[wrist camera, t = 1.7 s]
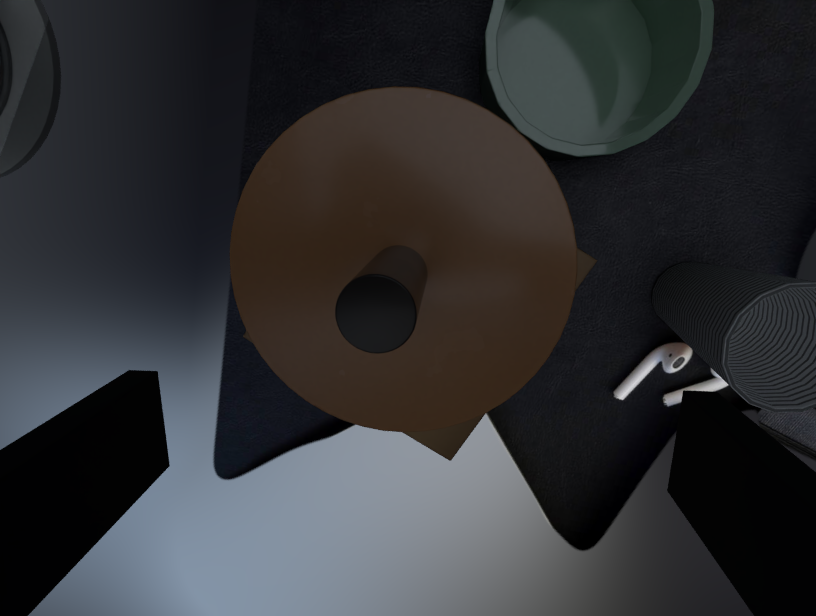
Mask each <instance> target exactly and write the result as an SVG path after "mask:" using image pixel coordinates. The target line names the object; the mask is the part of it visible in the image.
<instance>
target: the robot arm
mask: <svg viewBox="0 0 816 616" xmlns="http://www.w3.org/2000/svg"><path fill="white" fill-rule="evenodd" d="M11 86H12V57H11V51H10V47H9V43H8V39H7V36H6V33H5V31H4V28H3V26H2V24H1V22H0V115H1V114H2V112H3V110H4V108H5V106H6V104H7V101H8V98H9V95H10V91H11ZM168 467H169V457H168V450H167V442H166V434H165V426H164V418H163V411H162V403H161V395H160V387H159V380H158V372H157V371H136V370H134V371H133V370H129V371H127V372H126V373H124V374H122V375H121V376H119V377H117V378H116V379H114V380H113V381H111V382H109V383H108V384H106V385H105V386H103V387H101V388H100V389H98V390H96V391H95V392H93V393H92V394H90V395H88V396H87V397H85V398H83V399H82V400H80V401H79V402H77V403H75V404H74V405H72V406H71V407H69V408H67V409H66V410H64V411H63V412H61V413H59V414H58V415H56V416H54V417H53V418H51V419H50V420H48V421H46V422H45V423H43V424H42V425H40V426H38V427H37V428H35V429H34V430H32V431H30V432H29V433H27V434H25V435H24V436H22V437H21V438H19V439H18V440H16V441H14V442H13V443H11V444H9V445H8V446H6V447H5V448H3V449H1V450H0V616H28V615H29V614H30V613H31V612H32V611H33V610H34V609H35V607H36V606H37V605H38V604H39V603H40V602H41V601H42V600H43V599H44V598H45V597H46V596H47V595H48V594H49V593H50V592H51V591H52V590H53V588H54V587H55V586H56V585H57V584H58V583H59V582H60V581H61V580H62V579H63V578H64V577H65V576H66V575H67V574H68V572H70V570H71V569H72V568H73V567H74V566H75V565H76V564H77V563H78V562H79V561H80V560H81V559H82V558H83V557H84V556H85V555H86V554H87V552H89V550H90V549H91V548H92V547H93V546H94V545H95V544H96V543H97V542H98V541H99V540H100V539H101V538H102V537H103V536H104V535H105V534H106V532H107V531H108V530H109V529H110V528H111V527H112V526H113V525H114V524H115V523H116V522H117V521H118V520H119V519H120V518H121V517H122V516H123V515H124V513H125V512H126V511H127V510H128V509H129V508H130V507H131V506H132V505H133V504H134V503H135V502H136V501H137V500H138V499H139V498H140V497H141V496H142V494H143V493H144V492H145V491H146V490H147V489H148V488H149V487H150V486H151V485H152V484H153V483H154V482H155V480H157V478H159V476H160V475H161V474H162V473H163V472H164V471H165V470H166V469H167V468H168ZM667 491H668V493H669V494H670V495H671V497H672V498H673V499H674V501H675V503H676V504H677V505H678V507H679V508H680V510H681V511H682V513H683V514H684V516H685V517H686V518H687V520H688V521H689V523H690V524H691V526H692V527H693V528H694V530H695V531H696V533H697V534H698V536H699V537H700V538H701V540H702V541H703V543H704V544H705V546H706V547H707V549H708V550H709V551H710V553H711V554H712V556H713V557H714V559H715V560H716V562H717V563H718V564H719V566H720V567H721V569H722V570H723V572H724V573H725V574H726V576H727V577H728V579H729V580H730V582H731V583H732V585H733V586H734V587H735V589H736V590H737V592H738V593H739V595H740V596H741V598H742V599H743V600H744V602H745V603H746V605H747V606H748V608H749V609H750V611H751V612H752V613H753V615H754V616H816V472H815V471H814V470H812V469H811V468H810V467H808V466H807V465H806V464H805V463H804V462H802V461H801V460H800V459H799V458H797V457H796V456H795V455H794V454H793V453H791V452H790V451H789V450H788V449H786V448H785V447H784V446H783V445H781V444H780V443H779V442H778V441H776V440H775V439H774V438H773V437H772V436H770V435H769V434H768V433H767V432H765V431H764V430H763V429H762V428H760V427H759V426H758V425H757V424H756V423H754V422H753V421H752V420H750V419H749V418H748V417H747V416H745V415H744V414H743V413H742V412H741V411H739V410H738V409H737V408H736V407H735V406H733V405H732V404H731V403H730V402H728V401H727V400H726V399H725V398H723V397H722V396H721V395H720V394H718V393H717V392H708V391H683V396H682V402H681V408H680V414H679V421H678V427H677V433H676V440H675V446H674V452H673V458H672V465H671V471H670V478H669V484H668V489H667Z"/></svg>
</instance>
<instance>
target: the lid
mask: <svg viewBox="0 0 816 616" xmlns="http://www.w3.org/2000/svg"><path fill="white" fill-rule="evenodd" d="M230 269H231V280H232V285H233V291H234V296H235V300H236V303H237V306H238V310H239V313H240V316H241V319H242V321H243V323H244V325H245V328H246V330H247V332H248V334H249V337H250V338H251V340H252V342H253V343H254V345H255V347H256V348H257V350H258V352H259V353H260V355H261V356H262V358H263V359H264V360H265V361H266V363H267V364H268V365H269V366H270V368H271V369H272V370H273V372H274V373H275V374H276V375H277V376H278V377H279V378H280V379H281V380H282V381H283V382H284V383H285V384H286V385H287V386H288V387H289V388H291V389H292V390H293V391H294V392H296V393H297V394H298V395H299V396H301V397H302V398H303V399H305V400H306V401H308V402H309V403H311V404H312V405H314V406H316V407H317V408H319V409H321V410H322V411H324V412H326V413H328V414H331V415H333V416H335V417H337V418H339V419H341V420H344V421H347V422H350V423H353V424H356V425H359V426H363V427H368V428H373V429H378V430H383V431H396V432H418V431H429V430H435V429H441V428H446V427H450V426H453V425H457V424H460V423H463V422H466V421H469V420H471V419H473V418H476V417H478V416H480V415H483V414H485V413H487V412H488V411H490V410H492V409H493V408H495V407H497V406H499V405H500V404H502V403H503V402H505V401H506V400H507V399H509V398H510V397H511V396H513V395H514V394H515V393H516V392H518V391H519V390H520V389H521V388H522V387H523V386H524V385H525V384H526V383H527V382H528V381H529V380H530V379H531V378H532V377H533V376H534V375H535V374H536V373H537V372H538V370H539V369H540V368H541V367H542V365H543V364H544V363H545V361H546V360H547V359H548V357H549V356H550V354H551V352H552V351H553V349H554V347H555V346H556V344H557V342H558V340H559V339H560V337H561V334H562V332H563V329H564V327H565V325H566V322H567V320H568V317H569V314H570V310H571V306H572V303H573V299H574V295H575V287H576V279H577V244H576V238H575V231H574V225H573V221H572V218H571V214H570V211H569V208H568V204H567V201H566V199H565V197H564V195H563V192H562V190H561V188H560V186H559V184H558V181H557V179H556V178H555V176H554V175H553V173H552V171H551V170H550V168H549V167H548V165H547V163H546V162H545V160H544V159H543V158H542V156H541V155H540V154H539V153H538V152H537V151H536V149H535V148H534V147H533V146H532V145H531V143H530V142H529V141H528V140H527V139H526V138H525V137H524V136H523V135H521V134H520V133H519V132H518V131H517V130H516V129H515V128H514V127H513V126H511V125H510V124H509V123H508V122H506V121H505V120H503V119H502V118H500V117H499V116H497V115H496V114H494V113H493V112H491V111H490V110H488V109H486V108H484V107H482V106H480V105H478V104H476V103H474V102H472V101H469V100H467V99H465V98H462V97H459V96H456V95H452V94H449V93H446V92H443V91H438V90H432V89H426V88H420V87H397V86H392V87H383V88H375V89H367V90H364V91H360V92H356V93H352V94H348V95H345V96H342V97H340V98H337V99H335V100H333V101H330V102H328V103H326V104H323V105H321V106H320V107H318V108H316V109H315V110H313V111H311V112H310V113H308V114H306V115H305V116H303V117H301V118H300V119H299V120H298V121H297V122H295V123H294V124H293V125H292V126H290V127H289V128H288V129H287V130H285V131H284V132H283V133H282V134H281V135H280V136H279V137H278V138H277V140H276V141H275V142H274V143H273V144H272V145H271V146H270V147H269V148H268V149H267V151H266V152H265V153H264V155H263V156H262V158H261V159H260V161H259V162H258V163H257V165H256V166H255V168H254V169H253V171H252V173H251V175H250V177H249V179H248V181H247V183H246V185H245V187H244V189H243V192H242V195H241V197H240V200H239V203H238V206H237V209H236V213H235V217H234V222H233V227H232V231H231V245H230Z"/></svg>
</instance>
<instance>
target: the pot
mask: <svg viewBox="0 0 816 616" xmlns="http://www.w3.org/2000/svg"><path fill="white" fill-rule="evenodd" d="M713 22H714V6H713V2H712V0H493V4H492V8H491V12H490V16H489V20H488V24H487V28H486V32H485V36H484V41H483V45H482V50H481V54H480V59H479V82H480V93H481V95H482V99H483V103H484V105H485V108H486V109H488V110H490V111H491V112H493V113H494V114H496V115H497V116H499V117H500V118H502V119H503V120H505V121H506V122H508V123H509V124H510V125H511V126H513V127H514V128H515V129H516V130H517V131H518V132H519V133H520V134H521V135H523V136H524V137H525V138H526V139H527V140H528V141H529V142H530V143H531V145H532V146H533V147H534V148H535V149H536V151H537V152H538V153H539V154H540V155H541V156H542V158H544V159H549V160H553V161H561V160H573V159H584V158H590V157H597V156H604V155H610V154H615V153H617V152H619V151H622V150H624V149H627V148H629V147H632V146H634V145H637V144H639V143H642V142H644V141H646V140H648V139H649V138H650V137H651V136H653V135H654V134H655V133H656V132H658V131H659V130H660V129H661V128H663V127H664V126H665V125H666V124H668V123H669V122H670V121H671V120H673V119H674V118H675V117H676V116H677V115H678V113H679V112H680V110H681V109H682V108H683V106H684V105H685V103H686V102H687V101H688V99H689V98H690V97H691V95H692V94H693V92H694V91H695V90H696V88H697V87H698V85H699V82H700V80H701V77H702V74H703V71H704V69H705V66H706V63H707V60H708V58H709V55H710V52H711V49H712V38H713Z"/></svg>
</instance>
